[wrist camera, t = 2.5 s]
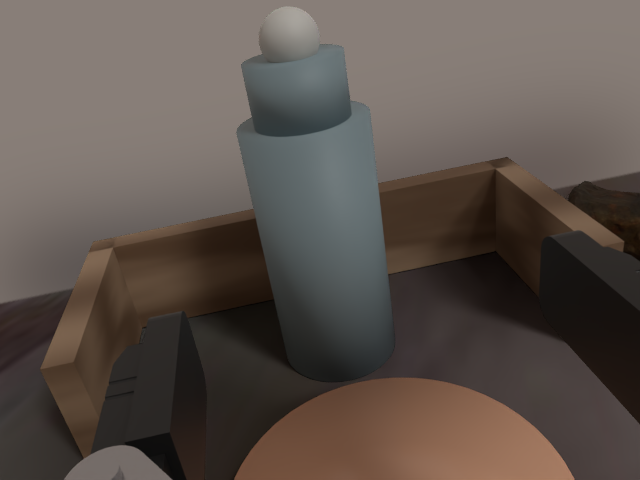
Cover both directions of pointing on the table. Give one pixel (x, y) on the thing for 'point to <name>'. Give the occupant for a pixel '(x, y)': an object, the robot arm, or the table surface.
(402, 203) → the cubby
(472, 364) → the table surface
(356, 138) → the pepper mill
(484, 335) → the table surface
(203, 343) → the table surface
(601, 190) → the brown piece
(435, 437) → the trivet
